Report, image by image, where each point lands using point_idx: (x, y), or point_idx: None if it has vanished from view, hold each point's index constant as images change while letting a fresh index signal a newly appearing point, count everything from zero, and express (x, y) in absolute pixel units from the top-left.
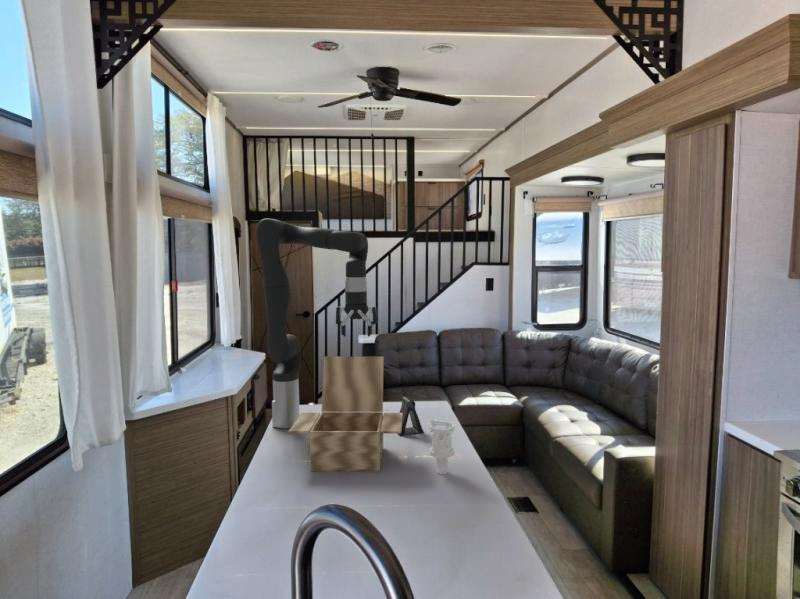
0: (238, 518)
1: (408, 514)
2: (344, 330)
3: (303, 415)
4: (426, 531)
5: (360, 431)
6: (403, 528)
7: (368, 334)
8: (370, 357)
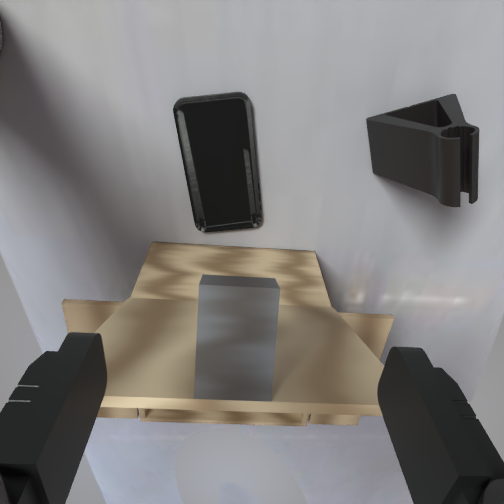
0: (96, 454)
1: (324, 452)
2: (73, 457)
3: (79, 325)
4: (339, 476)
5: (262, 422)
6: (313, 471)
7: (392, 416)
8: (337, 411)
